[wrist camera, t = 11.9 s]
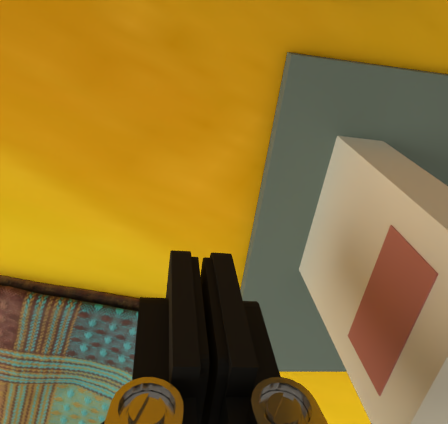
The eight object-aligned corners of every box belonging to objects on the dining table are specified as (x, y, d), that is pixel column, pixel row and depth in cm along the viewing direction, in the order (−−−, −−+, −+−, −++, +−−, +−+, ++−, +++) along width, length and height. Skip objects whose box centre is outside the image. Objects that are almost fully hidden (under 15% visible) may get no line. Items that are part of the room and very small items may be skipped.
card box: (336, 135, 16) (492, 270, 8) (384, 141, 17) (577, 275, 9) (297, 269, 19) (387, 461, 11) (339, 271, 20) (454, 459, 12)
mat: (287, 52, 15) (291, 54, 15) (620, 98, 18) (634, 101, 17) (226, 362, 22) (227, 371, 22) (469, 363, 25) (475, 371, 25)
